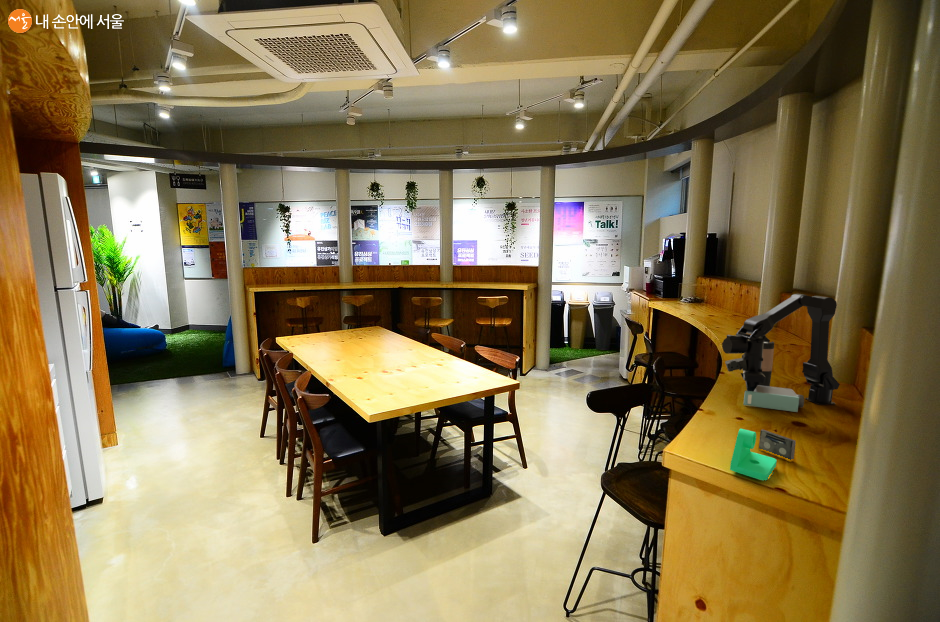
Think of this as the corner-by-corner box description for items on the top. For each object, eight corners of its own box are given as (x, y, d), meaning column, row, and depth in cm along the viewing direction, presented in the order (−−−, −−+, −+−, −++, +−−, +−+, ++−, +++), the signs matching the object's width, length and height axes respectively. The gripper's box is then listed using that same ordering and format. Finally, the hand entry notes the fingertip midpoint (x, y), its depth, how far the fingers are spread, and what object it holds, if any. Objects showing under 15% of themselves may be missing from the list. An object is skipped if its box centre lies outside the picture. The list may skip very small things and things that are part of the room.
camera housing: (798, 404, 161) (799, 389, 160) (805, 413, 152) (806, 398, 151) (752, 398, 167) (753, 384, 167) (756, 406, 158) (757, 392, 158)
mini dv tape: (793, 461, 117) (795, 440, 116) (790, 462, 116) (792, 441, 116) (761, 449, 124) (763, 429, 124) (758, 450, 124) (760, 429, 123)
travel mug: (749, 390, 177) (754, 342, 174) (745, 385, 184) (750, 338, 181) (772, 393, 174) (777, 343, 171) (767, 387, 181) (772, 340, 178)
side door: (797, 411, 153) (798, 397, 152) (798, 413, 151) (799, 398, 151) (743, 404, 160) (744, 390, 159) (744, 405, 158) (745, 391, 157)
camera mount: (765, 485, 105) (769, 445, 104) (729, 474, 110) (733, 435, 109) (776, 468, 113) (780, 430, 112) (743, 458, 119) (746, 422, 117)
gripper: (725, 346, 172) (722, 384, 174) (730, 356, 155) (726, 398, 157) (759, 349, 167) (755, 388, 169) (767, 359, 150) (763, 403, 152)
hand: (749, 394), depth 162 cm, fingers closed
